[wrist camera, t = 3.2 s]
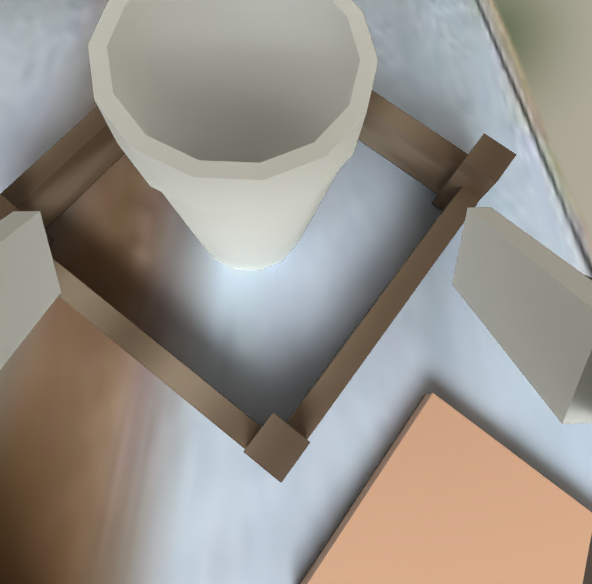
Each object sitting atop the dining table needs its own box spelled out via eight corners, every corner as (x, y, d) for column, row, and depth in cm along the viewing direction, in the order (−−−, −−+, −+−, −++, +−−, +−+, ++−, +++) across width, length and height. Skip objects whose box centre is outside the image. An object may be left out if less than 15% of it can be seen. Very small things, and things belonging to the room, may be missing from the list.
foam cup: (243, 125, 29) (225, -95, 17) (358, 212, 28) (430, 43, 16) (136, 230, 27) (24, 62, 15) (257, 329, 26) (248, 240, 13)
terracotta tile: (292, 595, 22) (293, 604, 21) (425, 394, 25) (432, 392, 24) (503, 776, 21) (516, 796, 20) (617, 539, 24) (635, 544, 23)
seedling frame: (1, 244, 26) (-58, 204, 22) (228, 31, 31) (221, -40, 27) (278, 471, 24) (281, 482, 19) (475, 199, 29) (516, 154, 24)
